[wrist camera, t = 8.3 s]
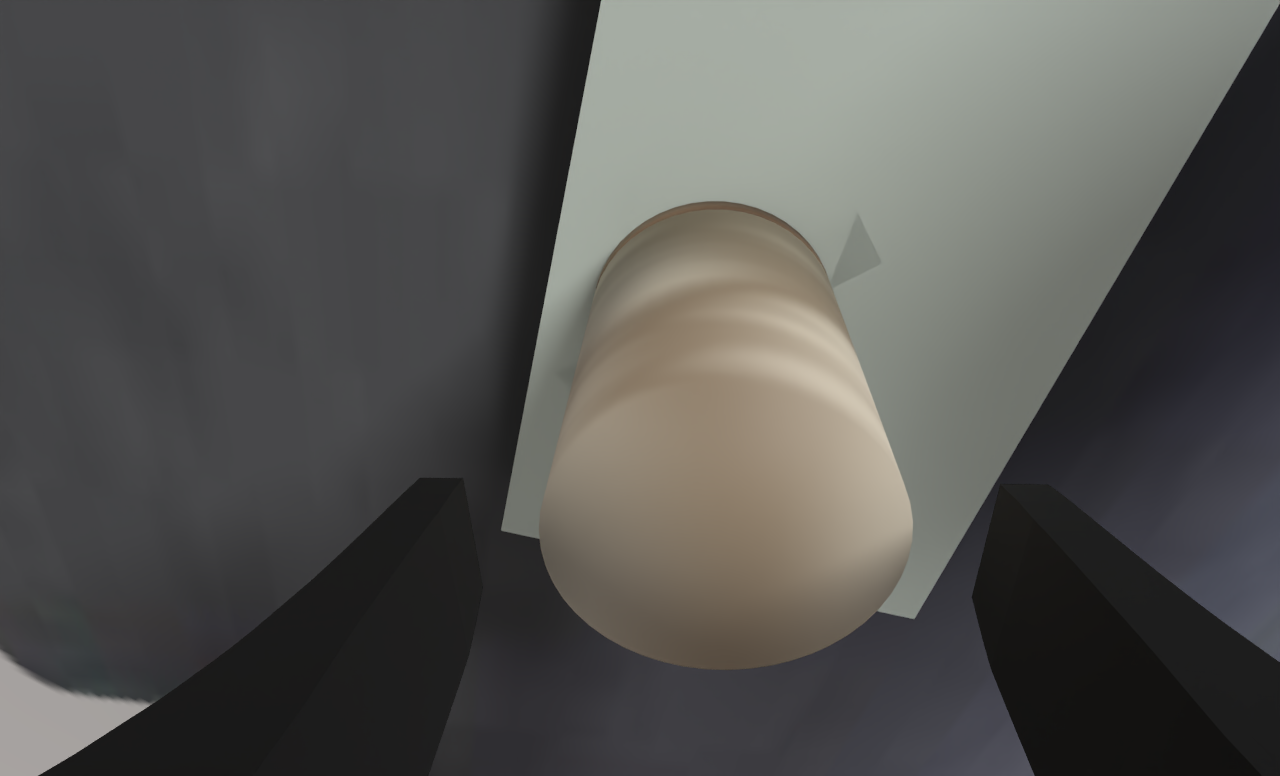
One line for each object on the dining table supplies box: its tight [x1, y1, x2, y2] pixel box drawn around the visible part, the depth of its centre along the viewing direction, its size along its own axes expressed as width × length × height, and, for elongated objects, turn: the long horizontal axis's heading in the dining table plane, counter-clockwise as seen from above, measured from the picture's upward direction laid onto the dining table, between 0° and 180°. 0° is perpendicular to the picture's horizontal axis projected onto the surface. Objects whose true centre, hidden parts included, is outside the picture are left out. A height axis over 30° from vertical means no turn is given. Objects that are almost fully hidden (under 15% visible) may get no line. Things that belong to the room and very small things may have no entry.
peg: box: [539, 201, 913, 670], centre depth 15 cm, size 5×5×9 cm
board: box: [501, 0, 1280, 619], centre depth 17 cm, size 11×18×2 cm, turn 166°
